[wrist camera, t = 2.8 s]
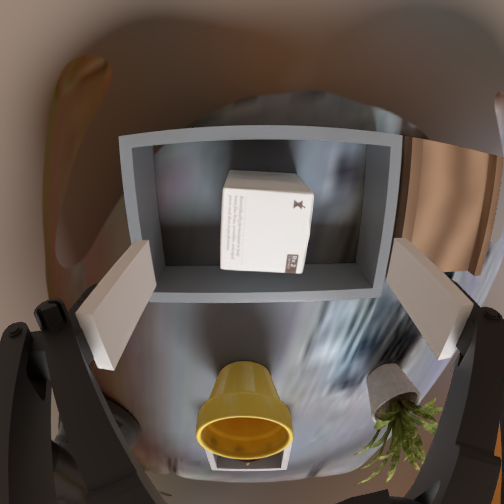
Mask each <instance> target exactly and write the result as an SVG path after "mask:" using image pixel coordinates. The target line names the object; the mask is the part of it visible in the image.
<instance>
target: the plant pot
mask: <svg viewBox="0 0 504 504" xmlns="http://www.w3.org/2000/svg"><path fill="white" fill-rule="evenodd" d="M196 438H197V440H198V442H199V444H200V445H201V446H202V447H204V448H205V449H206V450H208V451H210V452H212V453H214V454H217V455H219V456H223V457H227V458H233V459H258V458H264V457H268V456H271V455H274V454H276V453H279V452H281V451H282V450H284V449H285V448H287V447H288V446H289V445H290V443H291V442H292V440H293V427H292V421H291V416H290V412H289V409H288V408H287V406H286V405H285V404H284V403H283V402H282V401H280V398H279V396H278V393H277V391H276V388H275V386H274V383H273V381H272V378H271V375H270V373H269V371H268V370H267V369H266V368H265V367H264V366H262V365H260V364H258V363H255V362H250V361H238V362H234V363H230V364H228V365H227V366H225V367H224V368H223V369H222V370H221V371H220V372H219V375H218V377H217V380H216V382H215V385H214V387H213V390H212V392H211V395H210V397H209V400H208V401H206V402H205V403H204V404H203V405H202V407H201V408H200V411H199V415H198V420H197V426H196Z"/></svg>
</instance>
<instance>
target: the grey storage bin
mask: <svg viewBox="0 0 504 504" xmlns="http://www.w3.org/2000/svg"><path fill="white" fill-rule="evenodd" d="M402 136H403V135H397V134H390V133H382V132H374V131H365V130H355V129H344V128H331V127H315V126H289V125H241V126H215V127H198V128H185V129H175V130H164V131H155V132H147V133H139V134H132V135H125V136H119V147H120V158H121V159H120V160H121V170H122V180H123V188H124V197H125V205H126V212H127V219H128V226H129V232H130V238H131V244H133V243H134V242H135V241H136V240H149V245H150V252H151V258H152V264H153V269H154V275H155V280H156V288H155V289H154V291H153V293H152V295H151V297H150V299H149V301H148V302H172V303H264V302H301V301H325V300H345V299H362V298H377V297H381V293H382V289H383V284H384V279H385V274H386V269H387V264H388V259H389V254H390V248H391V242H392V236H393V229H394V222H395V215H396V208H397V199H398V190H399V180H400V169H401V155H402ZM248 139H286V140H317V141H335V142H349V143H361V144H367V148H366V167H365V182H364V195H363V206H362V216H361V225H360V234H359V242H358V249H357V257H356V263H333V264H304V268H303V272H302V273H300V274H298V273H280V272H262V271H240V270H225V269H221V268H220V266H166V264H165V258H164V251H163V243H162V236H161V228H160V220H159V211H158V202H157V192H156V181H155V169H154V156H153V145H162V144H172V143H184V142H198V141H217V140H248Z"/></svg>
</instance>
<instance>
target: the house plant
mask: <svg viewBox="0 0 504 504" xmlns="http://www.w3.org/2000/svg"><path fill="white" fill-rule="evenodd" d="M367 386H368V393H369V399H370V407H371V414H372V419H373V421H375V422H376V424H375V426H374V428H375V430H378V431H377V433H376V434H375V436H374V437H373V439H372V440H371V442H370V443H369V444H368V445H367V446H366V447H365V449H363V450H362V451H360V452H358V453H356V454H359V453H362V452H364V451H365V450H367V449H368V448H374V447H377V446H379V445H380V444H382V443H383V442H384V443H383V446H382V448H381V450H380V452H379V453H378V455H377V457H376V458H375V459H374V460H373V461H372V462H371V463H370V464H369V465H367V466H365V467H363V468H366V467H369V466H371V465H372V464H373V463H375V462H376V460H377V459H384V460H383V462H382V464H381V465H380V466H379V468H378V469H377V470H376V471H375V472H374V473H373V474H372V475H371V476H370V477H369V478H367V479H365V480H364V481H362V482H360V483H363V482H366V481H368V480H370V479H371V478H373V477H374V476H376V475H377V474H378V473H379V472H380V470H382V468H383V467H384V466H385V464H386V462H387V460H388V458H389V455H390V453H391V452H393V453H392V454H391V456H392V460H391V464H390V468H389V471H388V472H387V474H388V473H389V475H388V478H387V480H386V482H388V481H389V480H390V479H391V477H392V476H393V474H394V473H395V471H396V468H397V465H398V461H399V457H400V444H401V442H402V448H403V450H404V453H405V454H406V458H408V460H409V462H410V464H411V465H412V466H413V467H414V468H415V469H416V470H417V471H419V472H420V468H419V467H418V465H417V463H416V460H415V458H416V459H418V460H419V461H420V462H421V463H422V465H423V463H424V461H425V458H426V454H425V451H424V448H423V445H422V441H421V438H420V436H419V435H418V434H417V428H416V427H415V426H414V423H416V424H417V425H419V426H421V427H423V428H424V429H425V430H427V431H428V432H430V433H432V434H434V435H435V433H436V430H437V428H435V427H438V424H439V423H438V422H436V420H435V418H434V417H432V416H430V415H434V414H436V413H439V412H440V411H441V410H442V409H443V408H432V407H433V406H434V404H435V401H436V397H435V398H434V399H433V400H431V401H430V402H428V403H427V404H426V405H424V406H423V407H421V406H419V405H418V404H419V403H420V401H421V394H420V392H419V391H418V390H417V389H416V387H415V386H414V385H413V383H412V382H411V381H410V380H409V378H408V377H407V376H406V375H405V373H404V372H403V371H402V370H401V368H400V367H399V366H398V365H397V364H393V363H391V364H384V365H382V366H379V367H378V368H376V369H375V370H373V371H372V372H371V373H370V375H369V376H368V378H367ZM411 412H413V413H414V414H416V415H418V416H421V417H422V418H425V419H426V420H428V421H430V422H432V423H433V424H429V423H426V422H424V421H423V420H421V419H419V418H418V417H416V416H414V415H412V414H411ZM413 422H414V423H413ZM388 423H389V424H388ZM387 424H388V428H387V430H386V432H385V433H384V435H383V437H382V438H381V439H380V440H379V441H378V442H376V443H374V444H373V442H374V441H375V439H376V438H377V436H378V434H379V432H380V430H381V429H382V428H383V427H385V426H386V425H387ZM434 424H435V425H434ZM391 428H392V438H391V442H390V446H389V449H388V452H387V454H386V456H381V457H380V455H381V453H382V451H383V449H384V446H385V443H386V440H387V437H388V435H389V433H390V431H391ZM372 444H373V445H372ZM360 446H361V445H360ZM361 447H362V446H361ZM356 454H355V455H356ZM406 458H405V460H406ZM363 468H361V469H363ZM360 483H358V484H360Z"/></svg>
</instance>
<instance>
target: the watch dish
mask: <svg viewBox="0 0 504 504" xmlns="http://www.w3.org/2000/svg"><path fill="white" fill-rule="evenodd" d="M292 441H293V440H292ZM291 446H292V442H291V443H290V445H289V446H288V447H287V448H285V449H284V450H282V451H281V452H279V453H276V454H274V455H271V456H268V457H265V459H263V460H262V461H260V462H258V463H255V464H249V465H246V464H242V463H239V462H236V461H235V460H233V459H232V458H227V457H223V456H219V455H217V454H214V453H212V452H210V451H208V450H206V449H205V451H206V454H207V457H208V460H209V463H210V466H211V469H212V470H224V471H270V470H286V469H287V464H288V460H289V455H290V450H291Z"/></svg>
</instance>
